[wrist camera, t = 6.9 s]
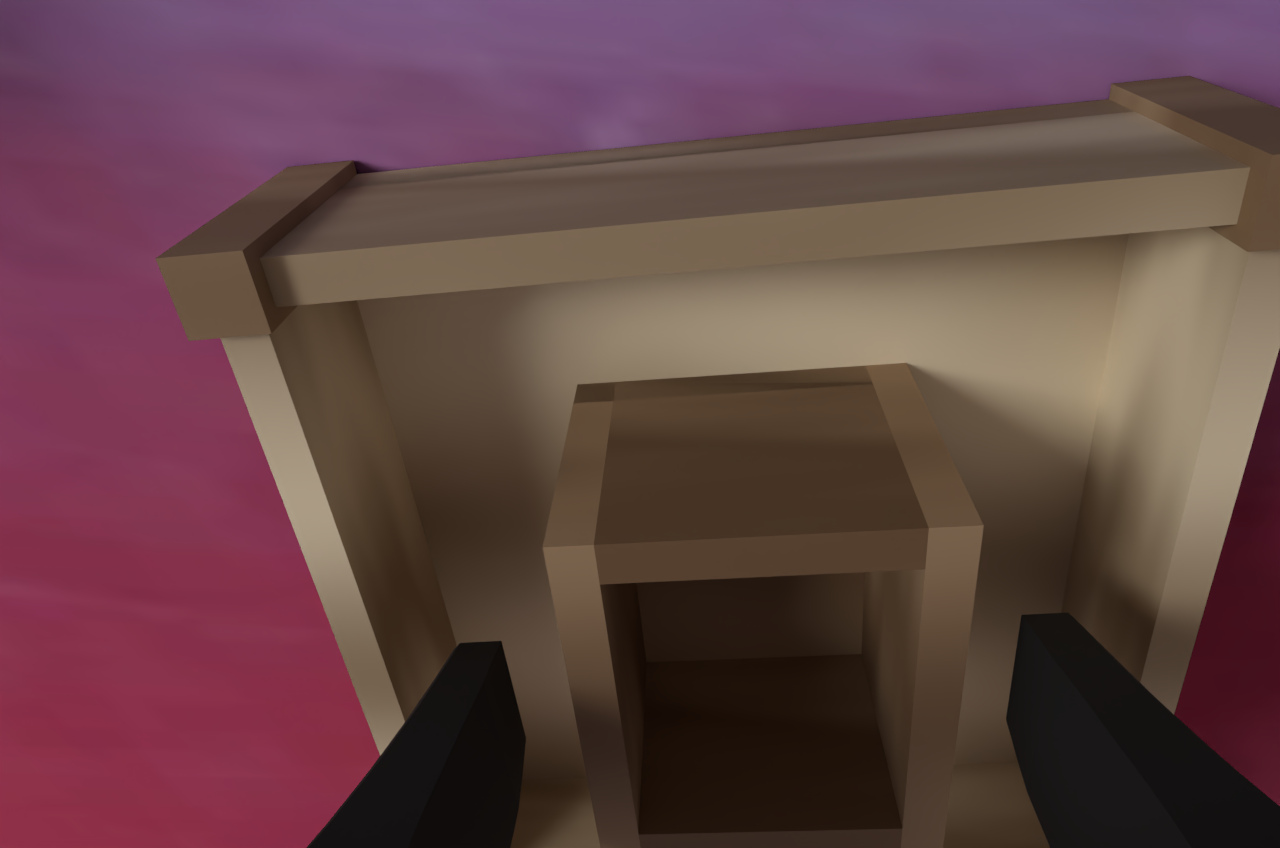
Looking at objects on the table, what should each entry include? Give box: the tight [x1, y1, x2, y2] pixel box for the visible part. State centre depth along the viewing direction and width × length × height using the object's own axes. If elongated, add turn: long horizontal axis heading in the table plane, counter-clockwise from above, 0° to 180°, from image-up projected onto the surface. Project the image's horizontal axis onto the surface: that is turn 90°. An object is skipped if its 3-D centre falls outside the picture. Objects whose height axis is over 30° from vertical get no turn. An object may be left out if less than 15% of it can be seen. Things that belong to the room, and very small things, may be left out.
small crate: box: [543, 363, 984, 848], centre depth 13 cm, size 6×5×4 cm
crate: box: [156, 76, 1280, 848], centre depth 14 cm, size 14×13×4 cm
